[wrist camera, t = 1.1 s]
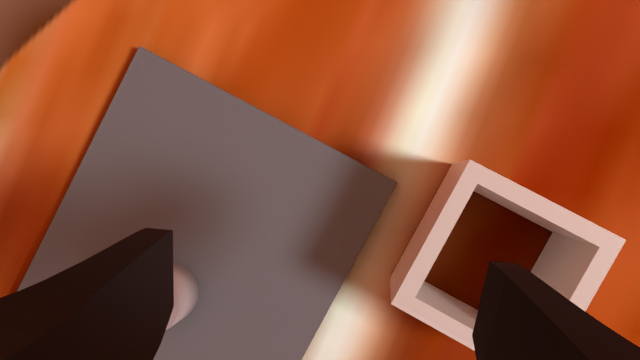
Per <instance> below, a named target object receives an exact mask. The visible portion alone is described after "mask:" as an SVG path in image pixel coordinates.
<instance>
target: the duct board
mask: <svg viewBox="0 0 640 360" xmlns="http://www.w3.org/2000/svg"><path fill="white" fill-rule="evenodd" d="M396 183H397V182H395V181H394V180H392V179H390V178H388V177H386V176H384V175H382V174H380V173H378V172H377V171H375V170H373V169H371V168H369V167H367V166H365V165H363V164H361V163H360V162H358V161H356V160H354V159H352V158H350V157H348V156H346V155H344V154H343V153H341V152H339V151H337V150H335V149H333V148H331V147H329V146H327V145H326V144H324V143H322V142H320V141H318V140H316V139H314V138H312V137H310V136H309V135H307V134H305V133H303V132H301V131H299V130H297V129H295V128H293V127H292V126H290V125H288V124H286V123H284V122H282V121H280V120H278V119H276V118H275V117H273V116H271V115H269V114H267V113H265V112H263V111H261V110H259V109H258V108H256V107H254V106H252V105H250V104H248V103H246V102H244V101H242V100H241V99H239V98H237V97H235V96H233V95H231V94H229V93H227V92H225V91H224V90H222V89H220V88H218V87H216V86H214V85H212V84H210V83H208V82H207V81H205V80H203V79H201V78H199V77H197V76H195V75H193V74H191V73H190V72H188V71H186V70H184V69H182V68H180V67H178V66H176V65H174V64H173V63H171V62H169V61H167V60H165V59H163V58H161V57H159V56H157V55H155V54H154V53H152V52H150V51H148V50H146V49H144V48H142V47H140V46H139V48H138V50H137V52H136V54H135V56H134V58H133V60H132V62H131V64H130V66H129V68H128V70H127V72H126V74H125V76H124V78H123V80H122V82H121V84H120V86H119V88H118V90H117V92H116V94H115V96H114V98H113V100H112V102H111V104H110V106H109V108H108V110H107V112H106V114H105V116H104V118H103V120H102V122H101V124H100V126H99V128H98V130H97V132H96V134H95V136H94V138H93V140H92V142H91V144H90V146H89V148H88V150H87V152H86V154H85V156H84V158H83V160H82V162H81V164H80V166H79V168H78V170H77V172H76V174H75V176H74V178H73V180H72V182H71V184H70V186H69V188H68V190H67V192H66V194H65V196H64V198H63V200H62V202H61V204H60V206H59V208H58V210H57V212H56V214H55V216H54V218H53V220H52V222H51V224H50V226H49V228H48V230H47V232H46V234H45V236H44V238H43V240H42V242H41V244H40V246H39V248H38V250H37V252H36V254H35V256H34V258H33V260H32V262H31V264H30V266H29V268H28V270H27V272H26V274H25V276H24V278H23V280H22V282H21V284H20V286H19V288H18V290H17V291H20V290H22V289H25V288H27V287H29V286H32V285H34V284H36V283H39V282H41V281H43V280H45V279H47V278H49V277H51V276H53V275H55V274H57V273H59V272H62V271H64V270H66V269H68V268H70V267H72V266H74V265H76V264H78V263H80V262H82V261H84V260H86V259H88V258H89V257H91V256H93V255H95V254H97V253H99V252H100V251H102V250H104V249H106V248H108V247H110V246H111V245H113V244H115V243H117V242H119V241H120V240H122V239H124V238H126V237H128V236H130V235H132V234H133V233H135V232H137V231H139V230H142V229H144V228H155V229H166V230H173V279H174V307H173V310H172V313H171V316H170V319H169V322H168V325H167V328H166V331H165V334H164V336H163V339H162V342H161V345H160V347H159V349H158V351H157V353H156V355H155V357H154V359H153V360H301V359H302V357H303V356H304V354H305V352H306V350H307V348H308V346H309V345H310V343H311V341H312V339H313V337H314V335H315V333H316V332H317V330H318V328H319V326H320V324H321V322H322V320H323V319H324V317H325V315H326V313H327V311H328V309H329V307H330V306H331V304H332V302H333V300H334V298H335V296H336V294H337V293H338V291H339V289H340V287H341V285H342V283H343V281H344V280H345V278H346V276H347V274H348V272H349V270H350V269H351V267H352V265H353V263H354V261H355V259H356V257H357V256H358V254H359V252H360V250H361V248H362V246H363V244H364V243H365V241H366V239H367V237H368V235H369V233H370V231H371V230H372V228H373V226H374V224H375V222H376V220H377V218H378V217H379V215H380V213H381V211H382V209H383V207H384V205H385V204H386V202H387V200H388V198H389V196H390V194H391V193H392V191H393V189H394V187H395V185H396Z"/></svg>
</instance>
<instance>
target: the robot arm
mask: <svg viewBox="0 0 640 360" xmlns="http://www.w3.org/2000/svg"><path fill="white" fill-rule="evenodd" d="M173 307H174V279H173V230H166V229H155V228H144V229H142V230H139V231H137V232H135V233H133V234H132V235H130V236H128V237H126V238H124V239H122V240H120V241H119V242H117V243H115V244H113V245H111V246H110V247H108V248H106V249H104V250H102V251H100V252H99V253H97V254H95V255H93V256H91V257H89V258H88V259H86V260H84V261H82V262H80V263H78V264H76V265H74V266H72V267H70V268H68V269H66V270H64V271H62V272H59V273H57V274H55V275H53V276H51V277H49V278H47V279H45V280H43V281H41V282H39V283H36V284H34V285H32V286H29V287H27V288H25V289H22V290H20V291H17V292H15V293H12V294H10V295H7V296H4V297H2V298H0V360H153V359H154V357H155V355H156V353H157V351H158V349H159V347H160V345H161V342H162V339H163V336H164V334H165V331H166V328H167V325H168V322H169V319H170V316H171V313H172V310H173ZM472 338H473V343H474V348H475V353H476V358H477V360H640V347H638V346H636V345H635V344H633V343H631V342H630V341H628V340H627V339H625V338H624V337H622V336H621V335H619V334H618V333H616V332H614V331H613V330H611V329H610V328H608V327H607V326H605V325H604V324H602V323H601V322H599V321H598V320H596V319H595V318H594V317H592V316H591V315H589V314H588V313H586V312H585V311H584V310H582V309H581V308H579V307H578V306H577V305H575V304H574V303H572V302H571V301H570V300H568V299H567V298H566V297H564V296H563V295H562V294H560V293H559V292H557V291H556V290H555V289H553V288H552V287H551V286H549V285H548V284H547V283H545V282H544V281H543V280H541V279H540V278H538V277H537V276H536V275H534V274H533V273H531V272H530V271H528V270H527V269H525V268H524V267H522V266H520V265H518V264H515V263H505V262H495V261H490V263H489V267H488V271H487V275H486V280H485V284H484V288H483V292H482V296H481V300H480V304H479V309H478V313H477V317H476V321H475V325H474V329H473V333H472Z"/></svg>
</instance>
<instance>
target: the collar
mask: <svg viewBox="0 0 640 360" xmlns="http://www.w3.org/2000/svg"><path fill="white" fill-rule="evenodd" d="M473 191H474V192H476V193H478V194H480V195H482V196H484V197H486V198H488V199H490V200H492V201H494V202H496V203H497V204H499V205H501V206H503V207H505V208H507V209H509V210H511V211H513V212H515V213H517V214H518V215H520V216H522V217H524V218H526V219H528V220H530V221H532V222H534V223H536V224H538V225H540V226H541V227H543V228H545V229H547V230H549V231H551V232H552V234H551V236H550V238H549V240H548V241H547V243H546V245H545V247H544V248H543V250H542V252H541V254H540V256H539V257H538V259H537V261H536V263H535V264H534V266H533V268H532V270H531V273H533V274H534V275H536V276H537V277H538V278H540V279H541V280H543V281H544V282H545V283H547V284H548V285H549V286H551V287H552V288H553V289H555V290H556V291H557V292H559V293H560V294H562V295H563V296H564V297H566V298H567V299H568V300H570V301H571V302H572V303H574V304H575V305H577V306H578V307H579V308H581V309H582V310H584V311H586V309H587V307H588V306H589V304H590V302H591V300H592V299H593V297H594V295H595V293H596V292H597V290H598V288H599V286H600V285H601V283H602V281H603V279H604V278H605V276H606V274H607V272H608V271H609V269H610V267H611V266H612V264H613V262H614V260H615V259H616V257H617V255H618V253H619V252H620V250H621V248H622V246H623V245H624V243H625V241H626V240H625V239H623V238H621V237H619V236H617V235H615V234H614V233H612V232H610V231H608V230H606V229H604V228H602V227H600V226H598V225H596V224H594V223H592V222H590V221H588V220H586V219H584V218H583V217H581V216H579V215H577V214H575V213H573V212H571V211H569V210H567V209H565V208H563V207H561V206H559V205H557V204H555V203H553V202H551V201H550V200H548V199H546V198H544V197H542V196H540V195H538V194H536V193H534V192H532V191H530V190H528V189H526V188H524V187H522V186H520V185H518V184H517V183H515V182H513V181H511V180H509V179H507V178H505V177H503V176H501V175H499V174H497V173H495V172H493V171H491V170H489V169H487V168H486V167H484V166H482V165H480V164H478V163H476V162H474V161H472V160H466V161H462V162H458V163H454V164H452V165H451V167H450V168H449V170H448V172H447V174H446V176H445V178H444V180H443V181H442V183H441V185H440V187H439V189H438V191H437V192H436V194H435V196H434V198H433V200H432V202H431V203H430V205H429V207H428V209H427V211H426V213H425V214H424V216H423V218H422V220H421V222H420V224H419V225H418V227H417V229H416V231H415V233H414V235H413V236H412V238H411V240H410V242H409V244H408V246H407V247H406V249H405V251H404V253H403V255H402V257H401V258H400V260H399V262H398V264H397V266H396V268H395V269H394V271H393V273H392V275H391V277H390V291H391V304H392V305H393V306H395V307H397V308H399V309H401V310H402V311H404V312H406V313H408V314H410V315H411V316H413V317H415V318H417V319H419V320H420V321H422V322H424V323H426V324H428V325H429V326H431V327H433V328H435V329H436V330H438V331H440V332H442V333H444V334H445V335H447V336H449V337H451V338H453V339H454V340H456V341H458V342H460V343H462V344H463V345H465V346H467V347H469V348H471V349H472V350H474V351H475V348H474V343H473V338H472V333H473V329H474V325H475V321H476V317H477V313H478V310H477V309H475V308H473V307H471V306H469V305H467V304H466V303H464V302H462V301H460V300H458V299H457V298H455V297H453V296H451V295H449V294H447V293H446V292H444V291H442V290H440V289H438V288H436V287H435V286H433V285H431V284H429V283H427V282H426V281H424V280H425V278H426V277H427V275H428V273H429V271H430V269H431V268H432V266H433V264H434V262H435V260H436V258H437V257H438V255H439V253H440V251H441V249H442V248H443V246H444V244H445V242H446V240H447V238H448V237H449V235H450V233H451V231H452V229H453V228H454V226H455V224H456V222H457V220H458V218H459V217H460V215H461V213H462V211H463V209H464V208H465V206H466V204H467V202H468V200H469V198H470V197H471V195H472V193H473Z"/></svg>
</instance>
